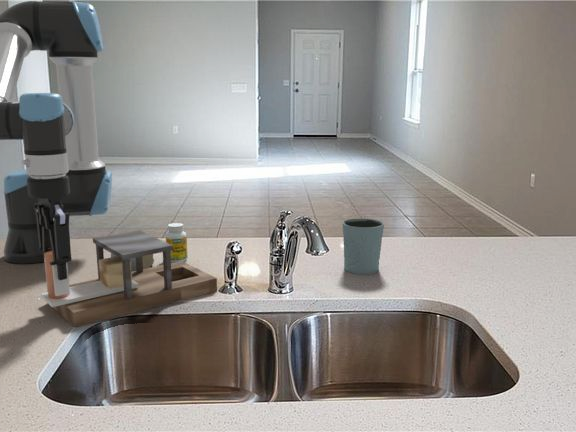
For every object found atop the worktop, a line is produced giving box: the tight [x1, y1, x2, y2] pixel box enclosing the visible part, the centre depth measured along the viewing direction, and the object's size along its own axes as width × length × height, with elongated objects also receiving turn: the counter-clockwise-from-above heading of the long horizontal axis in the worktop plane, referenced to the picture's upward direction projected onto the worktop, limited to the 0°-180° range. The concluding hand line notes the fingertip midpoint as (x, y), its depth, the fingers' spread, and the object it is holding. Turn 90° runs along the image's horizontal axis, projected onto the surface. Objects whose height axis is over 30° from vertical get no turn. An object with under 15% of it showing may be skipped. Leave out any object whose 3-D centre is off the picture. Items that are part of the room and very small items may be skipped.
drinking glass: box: [342, 217, 385, 275], centre depth 147 cm, size 10×10×12 cm
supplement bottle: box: [165, 222, 188, 263], centre depth 154 cm, size 5×5×10 cm
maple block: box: [99, 256, 132, 289], centre depth 125 cm, size 5×5×5 cm
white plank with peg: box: [40, 250, 139, 308], centre depth 122 cm, size 7×18×10 cm, turn 129°
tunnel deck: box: [46, 230, 218, 328], centre depth 128 cm, size 16×32×12 cm, turn 129°
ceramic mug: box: [110, 253, 155, 272], centre depth 147 cm, size 11×8×8 cm
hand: (58, 290), depth 118 cm, fingers closed on white plank with peg, 4 cm apart
